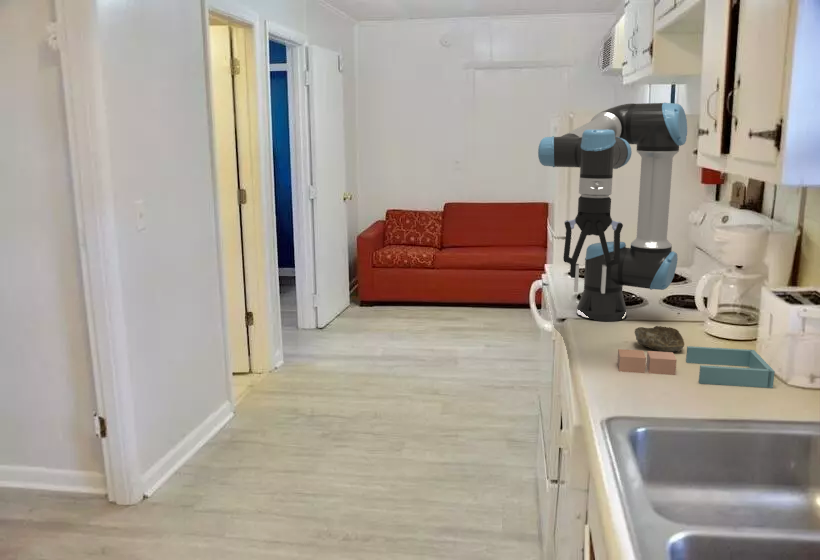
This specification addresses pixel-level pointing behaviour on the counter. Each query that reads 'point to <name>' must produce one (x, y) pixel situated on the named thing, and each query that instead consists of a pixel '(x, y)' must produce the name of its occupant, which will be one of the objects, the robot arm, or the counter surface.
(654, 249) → the robot arm
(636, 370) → the tile
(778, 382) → the counter surface
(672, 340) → the stone
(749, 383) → the tray
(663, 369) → the tile
